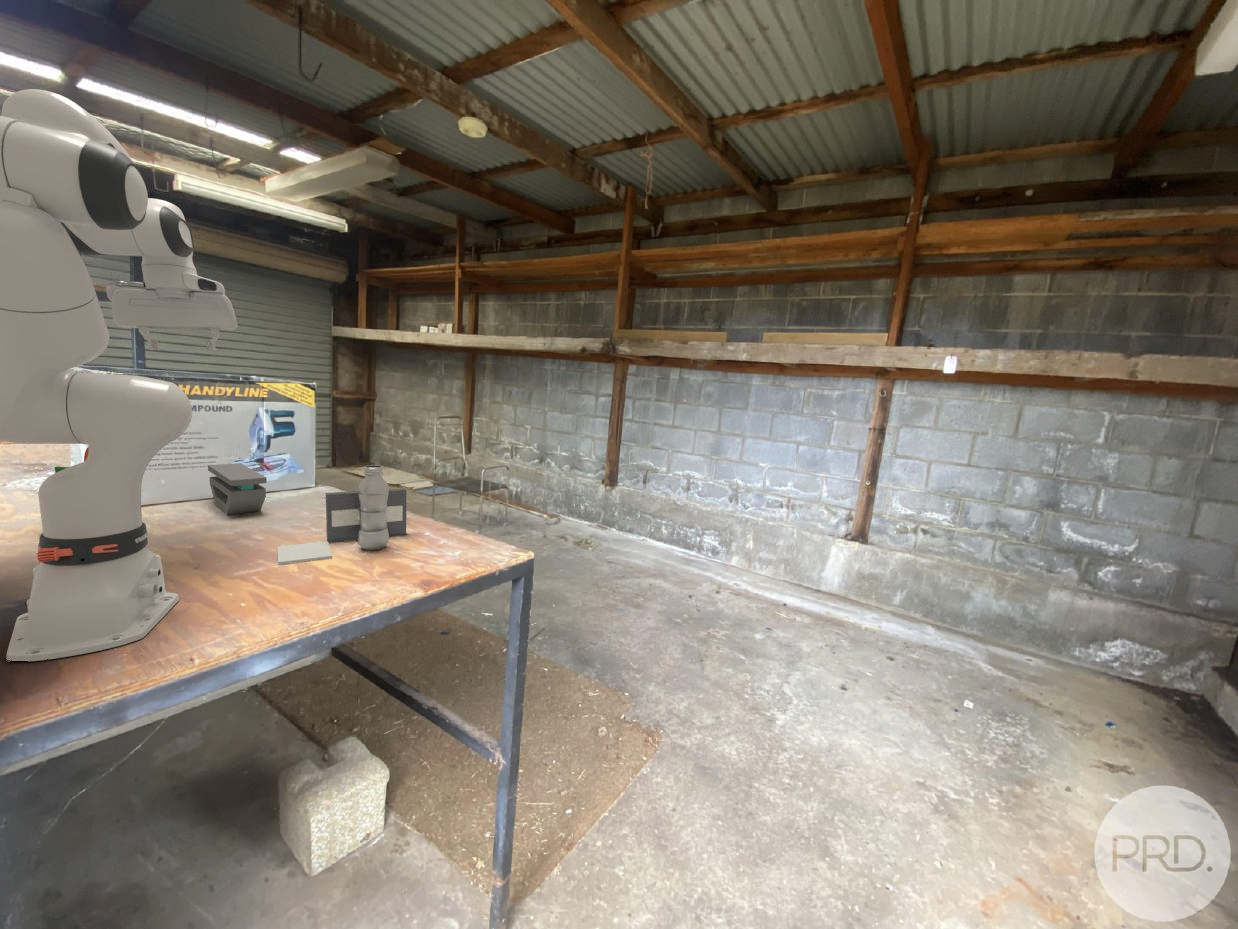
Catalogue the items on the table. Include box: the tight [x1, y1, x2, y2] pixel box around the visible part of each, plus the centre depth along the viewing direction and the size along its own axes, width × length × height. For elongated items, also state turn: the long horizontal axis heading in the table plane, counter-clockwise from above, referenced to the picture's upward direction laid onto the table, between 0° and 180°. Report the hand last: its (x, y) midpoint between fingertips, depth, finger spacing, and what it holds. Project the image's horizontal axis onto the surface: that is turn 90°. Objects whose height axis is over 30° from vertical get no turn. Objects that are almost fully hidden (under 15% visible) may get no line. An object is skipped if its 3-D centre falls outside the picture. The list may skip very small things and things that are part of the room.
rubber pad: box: [277, 540, 333, 566], centre depth 113 cm, size 11×10×1 cm
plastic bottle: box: [357, 464, 390, 551], centre depth 118 cm, size 6×7×20 cm
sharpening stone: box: [207, 462, 268, 516], centre depth 143 cm, size 25×8×11 cm, turn 50°
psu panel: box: [325, 488, 407, 544], centre depth 126 cm, size 2×18×12 cm, turn 125°
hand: (183, 349), depth 108 cm, fingers open, 8 cm apart
